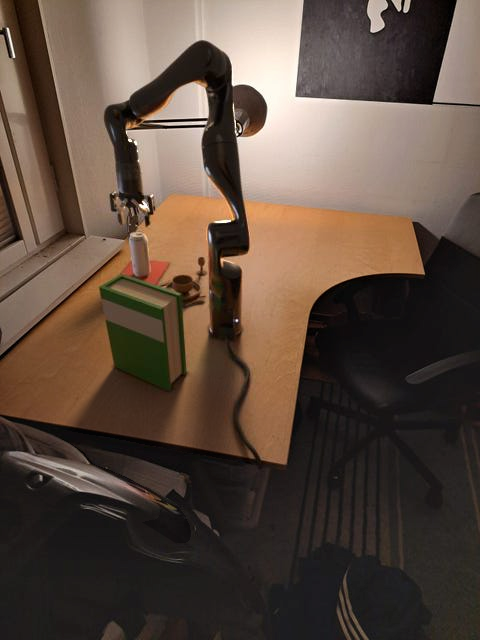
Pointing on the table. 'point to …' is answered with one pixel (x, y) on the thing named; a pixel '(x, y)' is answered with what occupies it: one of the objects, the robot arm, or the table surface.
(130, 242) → the energy drink can
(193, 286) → the place setting
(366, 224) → the table surface
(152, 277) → the cloth
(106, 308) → the hardback book
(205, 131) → the robot arm
